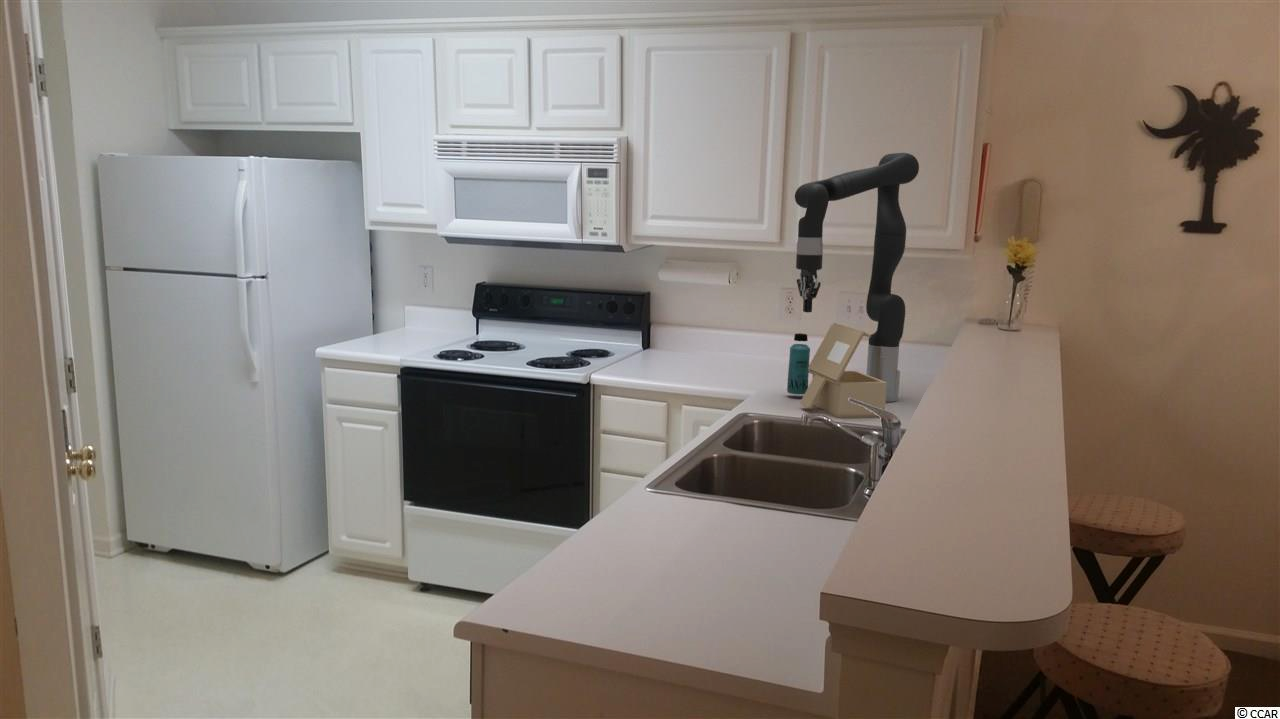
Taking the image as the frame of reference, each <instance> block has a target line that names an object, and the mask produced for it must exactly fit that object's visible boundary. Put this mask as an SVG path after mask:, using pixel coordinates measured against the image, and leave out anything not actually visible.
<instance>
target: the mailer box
mask: <svg viewBox="0 0 1280 719" xmlns="http://www.w3.org/2000/svg"><path fill="white" fill-rule="evenodd" d="M866 374H867V373H864V372H860V371H858V370H844V372H843V374H842V376H841V378H840V380H839V382H840V384H839V385H836V384H834V383H831V382H829V381H826V383H825V385H824V386H823V388H822V390H821V392H820V394H819V396H818V397H817V399H816V401H815V403H814V405H813V406H815V405H816V406H815V407H817V406H818V407H817V408H819V407H820V408H821V410H822V409H823V410H822V411H824V410H825V411H824V412H827V413H828V414H830V415H832V416H834V417H836V418H838V419H848V418H849V419H855V418H879V417H878V416H877V415H875V414H874V413H873V412H870V411H869V410H867V409H865V408H864V407H862V406H859V405H857V404H854V403H851V402H850V401H848V398H849V397H851V398H853V399H856V400H859V401H862V402H864V403H867V404H870V405H872V406H875V407H878V408H881V409H883V410H885V411H886V403H887V402H886V388H887V382H884V381H882V380H879V379H876V378H874V377H871V376H869V375H866ZM814 376H815V375H813V374H812V379H813V378H814ZM820 408H819V409H820Z"/></svg>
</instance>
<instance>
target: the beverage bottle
mask: <svg viewBox="0 0 1280 719" xmlns="http://www.w3.org/2000/svg"><path fill="white" fill-rule="evenodd" d="M793 341H795V342H808V334H807V333H801V332H800V333H795V334H794V338H793ZM810 353H811V348H810V347H809V345H808V344H804V343H794V344H792V345H791V346H790V347H789V360H788V370H787V385H786V387H787V388H786V391H787V393H788V394H793V395H804V394H805V392H806V391H807V389H808V387H809V376H810V373H809V372H808V370H809V369H808V367H809V365H810V355H811V354H810Z"/></svg>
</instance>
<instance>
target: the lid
mask: <svg viewBox="0 0 1280 719" xmlns="http://www.w3.org/2000/svg"><path fill="white" fill-rule="evenodd" d="M864 337H868V338H869V337H871V334H869V333H867V332H865V331H863V330H859V329H856V328H853V327H850V326H845V325H842V324H839V323H836V322H833V323H832V324H831V325H830V327H829V328H828V331H827V332H826V334H825V336H824V338H823V340H822V341H821V343H820V345H819V347H818V348H817V350H816V353H815V354H814V355H813V358H812V360H811V361H810V362H809V367H808V369H809V370H808V372H809V374H811V375H812V376H813V375H815V376H814V378H813V377H812V380H811V382H810V383H809V384H808V389H807V391H806V392H805V394H803V396H802V398H801V400H800V401H799V403H800V404H801V405H803V406H805V407H806V408H809V409H810V410H811V409H812V408H813V407H814V406H815V405H814V403H815V401H816V399H817V397H818V396H819V394H820V392H821V390H822V388H823V386H824V385H825V383H826V381H829V382H831V383H834V384H836V385H839V384H840V382H839V380H840V378H841V376H842V374H843V372H844V371H846V368H847V367H848V365H849V363H850V361H851V359H852V358H853V356H854V354H855V352H856V351H857V348H858V347H859V345H860V343H861V341H862V339H863V338H864Z"/></svg>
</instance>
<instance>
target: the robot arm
mask: <svg viewBox="0 0 1280 719" xmlns="http://www.w3.org/2000/svg"><path fill="white" fill-rule="evenodd" d="M919 171H920V164H919V161H918V159H917V158H916V157H915V155H913V154H911V153H909V152H898V153H897V152H895V153H887V154H885V155H883V156H882V157H881V158H880V160H879V162H878V165H875V166H872V167H867V168H862V169H858V170H852V171H848V172H843V173H841V174H837V175H834V176H832V177H829V178H826V179H821V180H816V181H810V182H807V183H804V184H802V185H799V187H798V188H797V189H796V190H795V193H794V201H795V203H796V204H797V205H798V206H799V207H801V208H803V209H805V213H804V216H803V217H801V218H800V219H799V220H798V224H797V225H798V227H797V228H798V230H797V232H798V233H797V242H796V257H795V258H796V259H795V263H796V264H795V269H797V270H800V274H799V275H800V276H799V278H796V284H797V289H798V293H799V296H800V297H801V298H802V301H803V303H802V304H803V305H802V312H803V313H812V311H813V300H814V299H816V298H817V295H818V293H819V290H820V287H821V281H818V271H819V270H822V269H823V254H824V253H823V252H824V251H823V249H824V244H823V231H824V230H823V229H824V228H823V227H824V226H823V225H824V220H825V218H826V213H827V210H828V206H829V202H836V201H839V200H843V199H846V198H850V197H852V196H856V195H858V194H862V193H866V192H868V191H870V190H874V189H877V206H876V220H875V230H874V241H873V242H874V244H873V256H872V257H873V258H872V264H871V275H870V283H869V287H868V293H867V296H866V304H865V305H866V310H865V312H866V314H867V316H868V318H869V319H870V320H871V321H873V322H877V329H876V331H875V332H873V333H871V334H870V335H871V337H868V345H867V347H868V348H867V359H866V360H867V361H866V373H865V374H866V375H869V376H871V377H874V378H876V379H879V380H882V381H884V382H887V388H886V402H885V403H894V402H899V392H900V380H901V379H900V376H901V371H900V370H899V369H898V368H899V353H900V342H901V340H902V338H903V334H904V328H905V320H906V319H905V318H906V304H905V301H904V299H903V298H902V297H901V296H900V295H899V294H895V293H892V282H893V277H894V274H895V271H896V270H897V268H898V266H899V264H900V262H901V260H902V258H903V255H904V253H905V249H906V243H907V242H906V241H907V240H906V239H907V225H906V221H905V219H904V216H903V213H902V210H901V206H900V202H899V200H900V198H899V197H900V195H899V194H900V186H901V185H905V184H908V183H910V182H912V181H914V180H915V178H917V177H918V176H917V175H918V174H919Z"/></svg>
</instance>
